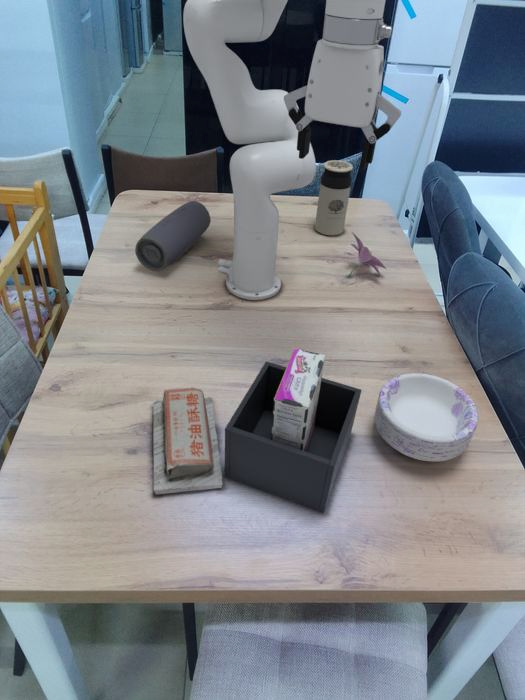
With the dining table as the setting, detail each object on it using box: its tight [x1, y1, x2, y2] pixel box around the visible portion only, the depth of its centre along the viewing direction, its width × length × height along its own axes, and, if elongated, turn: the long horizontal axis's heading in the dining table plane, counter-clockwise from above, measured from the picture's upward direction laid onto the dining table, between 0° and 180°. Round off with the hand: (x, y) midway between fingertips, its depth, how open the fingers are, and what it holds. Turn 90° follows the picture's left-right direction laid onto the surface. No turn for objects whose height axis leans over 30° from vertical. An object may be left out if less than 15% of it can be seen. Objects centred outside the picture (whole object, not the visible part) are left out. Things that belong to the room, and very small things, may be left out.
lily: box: [348, 231, 387, 278], centre depth 121 cm, size 12×12×10 cm
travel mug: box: [314, 159, 354, 236], centre depth 135 cm, size 8×8×18 cm
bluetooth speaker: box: [134, 200, 212, 272], centre depth 123 cm, size 23×9×10 cm, turn 159°
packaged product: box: [152, 387, 224, 495], centre depth 78 cm, size 18×5×10 cm
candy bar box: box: [271, 348, 326, 452], centre depth 74 cm, size 11×5×16 cm, turn 163°
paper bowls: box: [374, 372, 479, 462], centre depth 81 cm, size 15×15×8 cm
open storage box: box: [224, 360, 362, 513], centre depth 76 cm, size 16×16×11 cm
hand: (333, 161), depth 78 cm, fingers open, 9 cm apart
